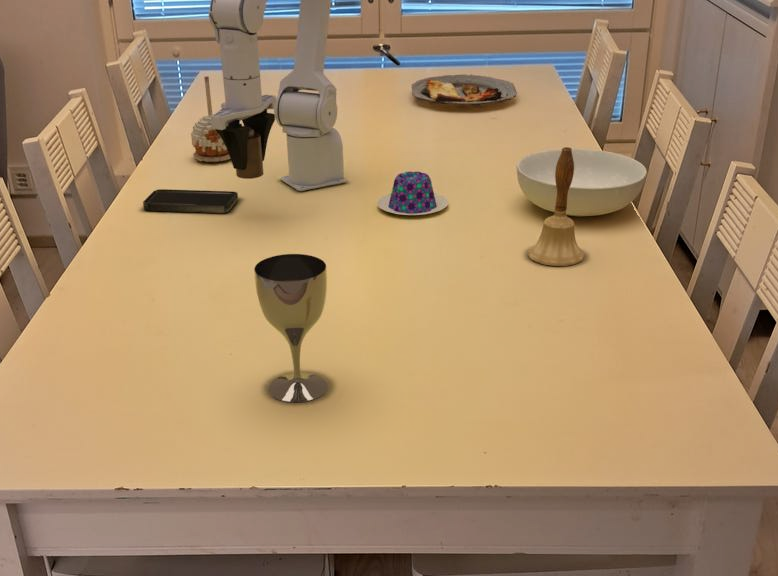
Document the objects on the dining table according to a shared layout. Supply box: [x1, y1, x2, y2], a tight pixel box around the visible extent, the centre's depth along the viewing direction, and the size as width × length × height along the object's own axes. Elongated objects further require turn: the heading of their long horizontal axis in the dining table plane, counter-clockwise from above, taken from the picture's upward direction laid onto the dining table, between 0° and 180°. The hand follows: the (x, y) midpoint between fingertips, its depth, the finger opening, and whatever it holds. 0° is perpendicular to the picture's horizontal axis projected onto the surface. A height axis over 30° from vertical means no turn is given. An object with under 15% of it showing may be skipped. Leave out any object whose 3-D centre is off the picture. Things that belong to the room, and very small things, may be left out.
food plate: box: [411, 73, 518, 107], centre depth 230 cm, size 25×23×4 cm
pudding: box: [376, 171, 449, 216], centre depth 171 cm, size 12×12×5 cm
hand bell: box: [527, 146, 585, 267], centre depth 149 cm, size 8×8×16 cm
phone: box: [142, 188, 239, 214], centre depth 175 cm, size 8×1×15 cm
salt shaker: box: [235, 129, 264, 180], centre depth 164 cm, size 4×4×7 cm
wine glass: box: [253, 253, 329, 403], centre depth 117 cm, size 8×8×15 cm
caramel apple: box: [190, 75, 231, 163], centre depth 193 cm, size 8×8×15 cm
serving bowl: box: [516, 148, 648, 218], centre depth 168 cm, size 21×21×7 cm
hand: (249, 164), depth 165 cm, fingers closed on salt shaker, 4 cm apart
